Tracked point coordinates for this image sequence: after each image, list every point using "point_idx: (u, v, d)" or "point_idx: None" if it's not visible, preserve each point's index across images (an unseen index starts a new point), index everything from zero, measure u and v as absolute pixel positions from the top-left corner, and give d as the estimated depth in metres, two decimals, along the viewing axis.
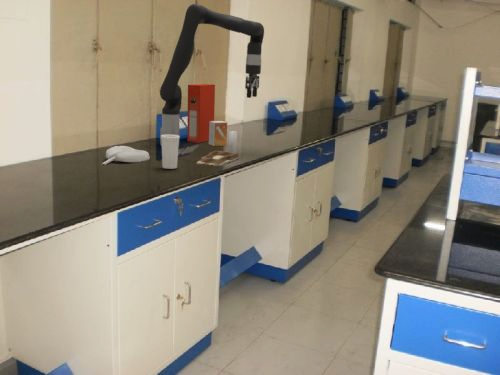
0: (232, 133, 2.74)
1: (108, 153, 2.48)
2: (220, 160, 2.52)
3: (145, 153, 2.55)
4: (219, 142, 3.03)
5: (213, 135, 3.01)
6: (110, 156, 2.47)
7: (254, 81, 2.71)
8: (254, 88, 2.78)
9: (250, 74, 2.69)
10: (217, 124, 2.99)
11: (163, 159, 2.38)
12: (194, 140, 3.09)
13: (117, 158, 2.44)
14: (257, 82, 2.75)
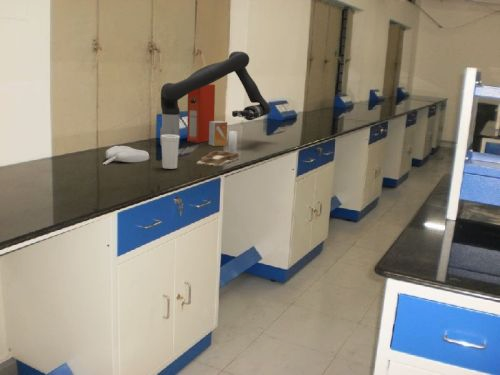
0: (232, 133, 2.74)
1: (108, 153, 2.47)
2: (220, 160, 2.52)
3: (144, 153, 2.55)
4: (219, 142, 3.03)
5: (213, 135, 3.01)
6: (110, 156, 2.46)
7: None
8: (236, 113, 2.89)
9: None
10: (217, 124, 2.99)
11: (163, 159, 2.38)
12: (194, 140, 3.09)
13: (117, 158, 2.44)
14: None
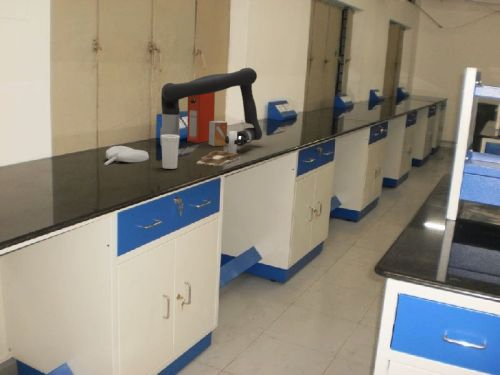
0: (232, 133, 2.74)
1: (108, 153, 2.47)
2: (220, 160, 2.52)
3: (144, 153, 2.56)
4: (219, 142, 3.03)
5: (213, 135, 3.01)
6: (111, 156, 2.46)
7: None
8: None
9: None
10: (217, 124, 2.99)
11: (163, 159, 2.38)
12: (194, 140, 3.09)
13: (118, 158, 2.44)
14: None
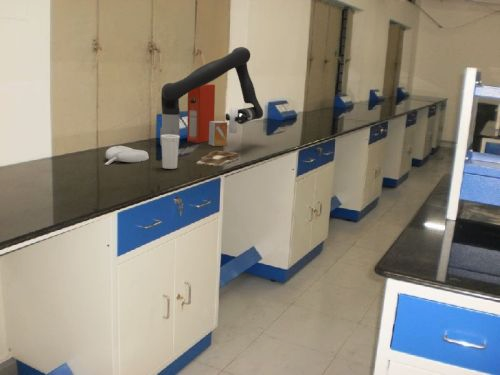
0: (233, 110, 2.71)
1: (109, 153, 2.47)
2: (220, 160, 2.52)
3: (144, 153, 2.56)
4: (219, 142, 3.03)
5: (213, 135, 3.01)
6: (111, 156, 2.46)
7: (240, 121, 2.79)
8: None
9: None
10: (217, 124, 2.99)
11: (163, 159, 2.38)
12: (194, 140, 3.09)
13: (119, 158, 2.44)
14: None
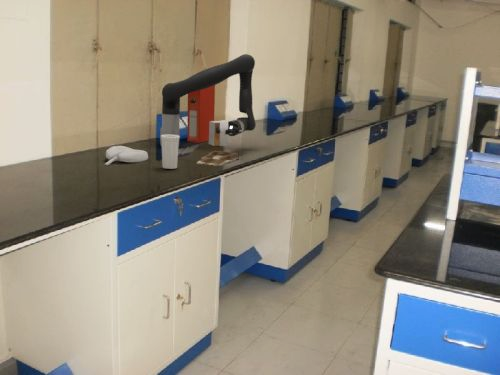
0: (223, 122, 2.60)
1: (109, 153, 2.46)
2: (220, 160, 2.52)
3: (144, 153, 2.56)
4: (219, 142, 3.03)
5: (213, 135, 3.01)
6: (111, 156, 2.46)
7: None
8: None
9: None
10: (217, 124, 2.99)
11: (163, 159, 2.38)
12: (194, 140, 3.09)
13: (119, 158, 2.44)
14: None
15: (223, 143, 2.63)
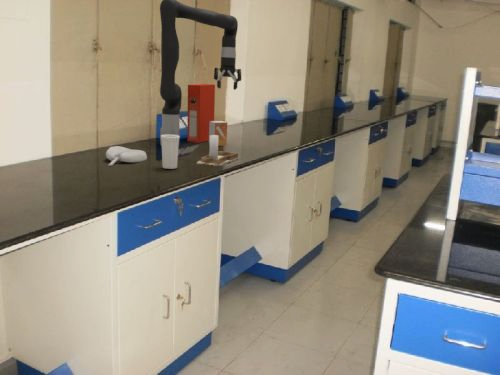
0: (213, 137, 2.51)
1: (110, 154, 2.45)
2: (220, 160, 2.52)
3: (143, 153, 2.57)
4: (219, 142, 3.03)
5: None
6: (113, 157, 2.45)
7: None
8: (219, 80, 2.82)
9: (234, 67, 2.78)
10: (217, 124, 2.99)
11: (163, 159, 2.38)
12: (194, 140, 3.09)
13: (121, 159, 2.44)
14: None
15: None
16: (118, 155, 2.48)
